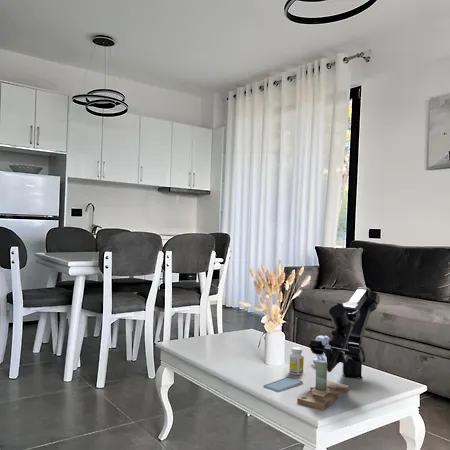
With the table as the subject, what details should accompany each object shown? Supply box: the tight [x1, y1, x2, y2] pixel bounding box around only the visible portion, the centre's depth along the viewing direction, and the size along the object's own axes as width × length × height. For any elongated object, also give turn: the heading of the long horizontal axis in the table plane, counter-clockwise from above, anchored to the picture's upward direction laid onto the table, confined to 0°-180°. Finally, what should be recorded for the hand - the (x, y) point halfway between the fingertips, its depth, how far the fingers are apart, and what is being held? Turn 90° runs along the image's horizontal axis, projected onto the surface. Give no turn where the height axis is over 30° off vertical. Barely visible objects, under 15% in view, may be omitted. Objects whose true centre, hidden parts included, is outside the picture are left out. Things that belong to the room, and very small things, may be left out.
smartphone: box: [263, 376, 304, 393], centre depth 166 cm, size 7×1×15 cm
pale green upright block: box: [309, 360, 329, 397], centre depth 154 cm, size 5×6×10 cm
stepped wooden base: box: [296, 380, 350, 411], centre depth 156 cm, size 24×9×2 cm, turn 146°
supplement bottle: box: [288, 346, 305, 376], centre depth 181 cm, size 5×5×10 cm
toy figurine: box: [312, 334, 331, 363], centre depth 197 cm, size 7×6×12 cm
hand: (328, 371), depth 159 cm, fingers closed
